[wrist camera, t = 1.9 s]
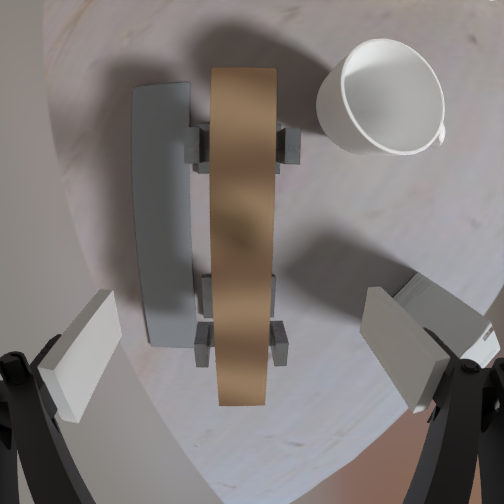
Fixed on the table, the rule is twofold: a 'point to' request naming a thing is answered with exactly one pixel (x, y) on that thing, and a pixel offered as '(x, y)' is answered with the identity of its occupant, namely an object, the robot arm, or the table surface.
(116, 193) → the table surface
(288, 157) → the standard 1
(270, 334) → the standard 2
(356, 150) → the mug
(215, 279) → the rail
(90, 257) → the table surface
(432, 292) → the skincare box
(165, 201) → the mat
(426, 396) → the robot arm
